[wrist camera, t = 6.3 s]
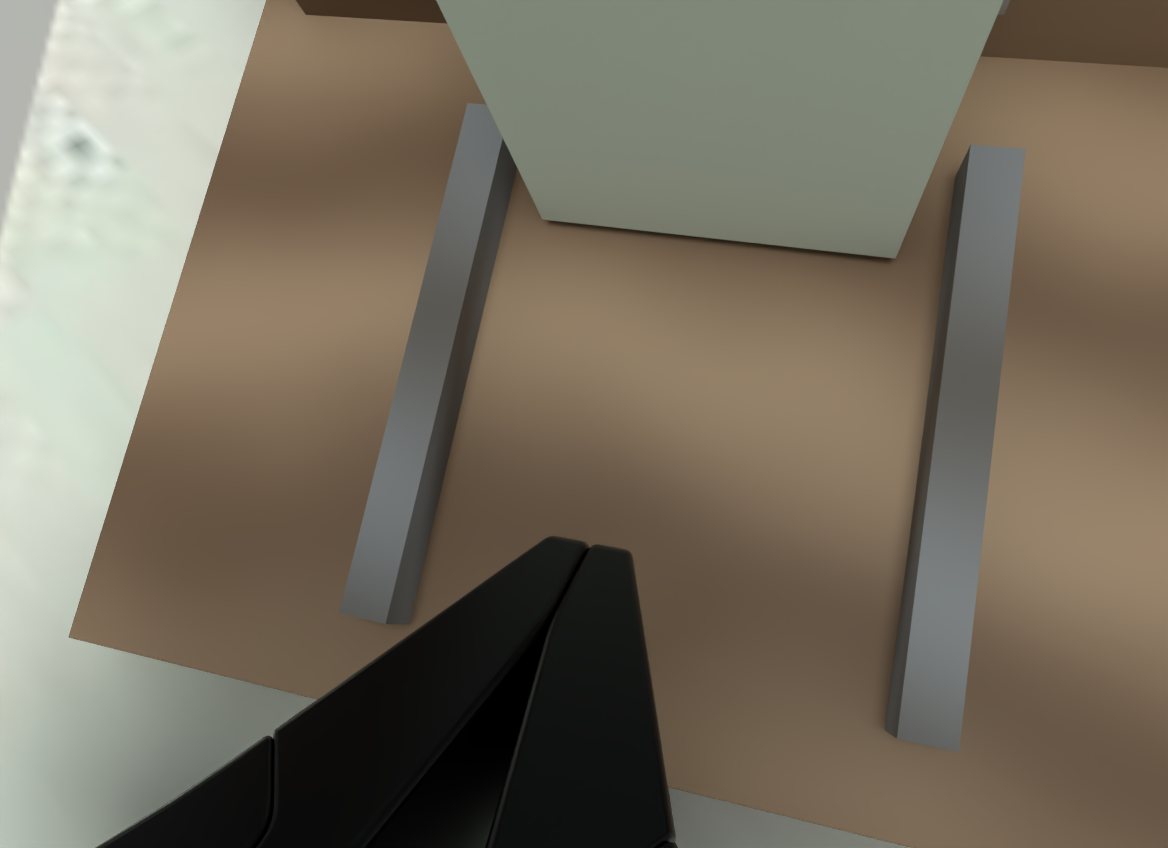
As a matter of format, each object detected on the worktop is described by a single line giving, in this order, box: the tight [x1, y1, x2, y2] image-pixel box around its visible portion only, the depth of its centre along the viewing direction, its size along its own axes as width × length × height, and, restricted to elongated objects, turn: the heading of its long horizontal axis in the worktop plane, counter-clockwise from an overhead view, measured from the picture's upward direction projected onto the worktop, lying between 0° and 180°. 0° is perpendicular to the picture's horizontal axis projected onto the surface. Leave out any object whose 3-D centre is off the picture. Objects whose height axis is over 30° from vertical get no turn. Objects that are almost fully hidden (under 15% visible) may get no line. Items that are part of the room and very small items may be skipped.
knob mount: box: [69, 0, 1168, 848], centre depth 10 cm, size 18×20×12 cm
